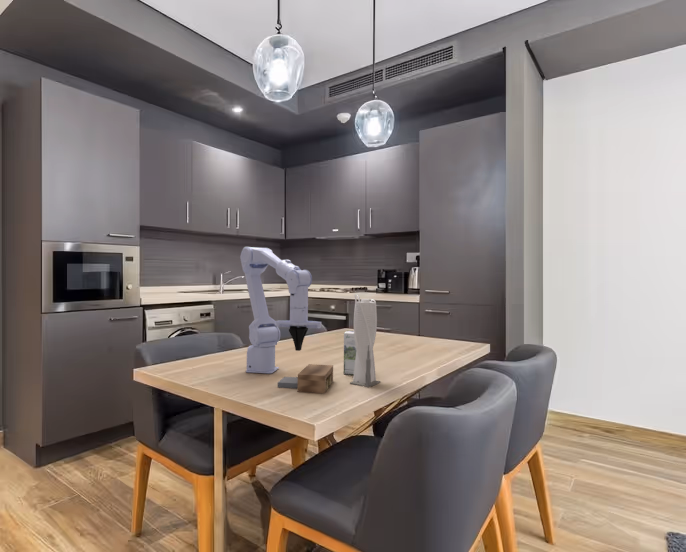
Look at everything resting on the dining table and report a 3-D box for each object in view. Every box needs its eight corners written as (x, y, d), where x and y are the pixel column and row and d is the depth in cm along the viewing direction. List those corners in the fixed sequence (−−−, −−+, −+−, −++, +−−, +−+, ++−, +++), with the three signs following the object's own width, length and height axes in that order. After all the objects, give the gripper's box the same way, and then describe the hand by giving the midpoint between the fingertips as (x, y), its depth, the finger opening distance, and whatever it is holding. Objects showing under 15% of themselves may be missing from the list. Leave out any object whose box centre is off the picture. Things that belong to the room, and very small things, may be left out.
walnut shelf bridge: (297, 391, 118) (297, 374, 118) (308, 379, 131) (308, 364, 131) (324, 393, 117) (324, 375, 117) (333, 380, 130) (333, 365, 130)
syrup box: (363, 371, 143) (363, 330, 142) (359, 376, 137) (359, 333, 137) (347, 370, 144) (347, 329, 144) (343, 374, 138) (343, 332, 138)
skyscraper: (346, 383, 128) (347, 294, 128) (359, 377, 135) (360, 293, 134) (369, 387, 123) (370, 295, 123) (381, 381, 130) (383, 294, 130)
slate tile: (277, 389, 122) (277, 382, 122) (284, 382, 129) (284, 376, 129) (319, 391, 120) (319, 384, 120) (324, 384, 127) (324, 378, 127)
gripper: (272, 308, 127) (272, 351, 127) (318, 309, 124) (317, 353, 125) (280, 306, 134) (279, 347, 134) (323, 307, 131) (322, 349, 132)
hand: (298, 350), depth 130 cm, fingers closed
